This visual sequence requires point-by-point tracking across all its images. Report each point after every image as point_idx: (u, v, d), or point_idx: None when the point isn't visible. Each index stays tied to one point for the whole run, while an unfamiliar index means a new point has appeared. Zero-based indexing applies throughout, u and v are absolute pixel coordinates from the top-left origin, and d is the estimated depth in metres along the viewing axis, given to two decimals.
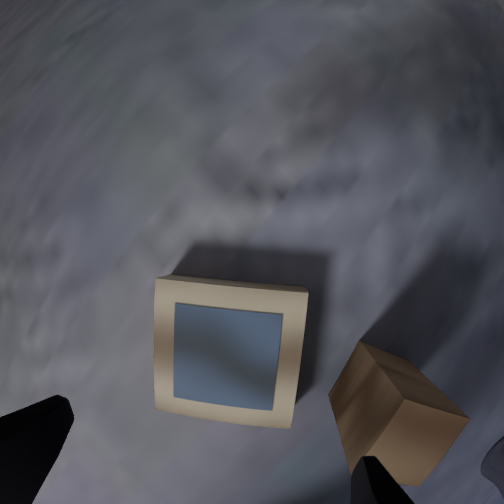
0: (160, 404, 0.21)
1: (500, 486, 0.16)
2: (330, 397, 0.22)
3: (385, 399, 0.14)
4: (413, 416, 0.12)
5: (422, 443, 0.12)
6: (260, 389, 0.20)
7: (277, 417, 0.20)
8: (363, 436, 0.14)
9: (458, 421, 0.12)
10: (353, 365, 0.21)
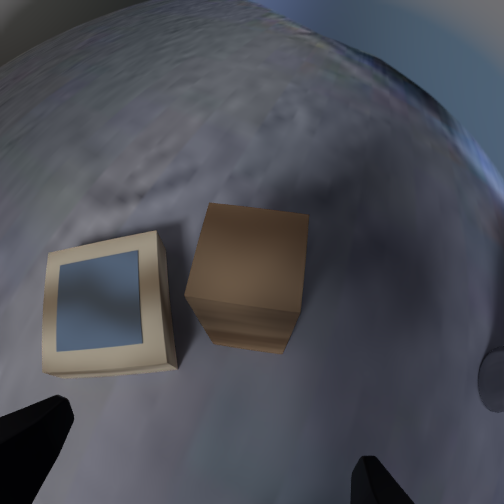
0: (46, 365, 0.18)
1: None
2: None
3: None
4: (228, 217, 0.15)
5: (259, 245, 0.15)
6: (128, 320, 0.20)
7: (150, 351, 0.19)
8: None
9: (294, 217, 0.15)
10: None
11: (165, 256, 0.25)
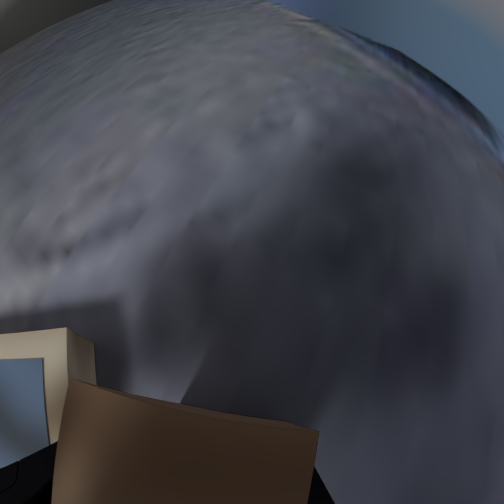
0: None
1: None
2: None
3: None
4: (109, 428, 0.05)
5: None
6: None
7: None
8: None
9: (277, 443, 0.05)
10: None
11: (92, 356, 0.15)
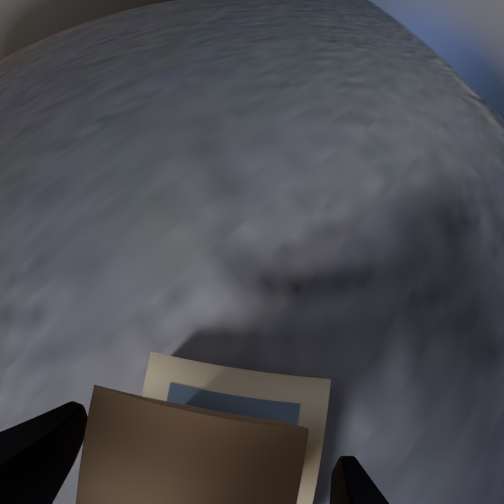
0: None
1: None
2: None
3: None
4: (130, 427, 0.06)
5: (194, 498, 0.05)
6: None
7: None
8: None
9: (274, 438, 0.06)
10: None
11: None
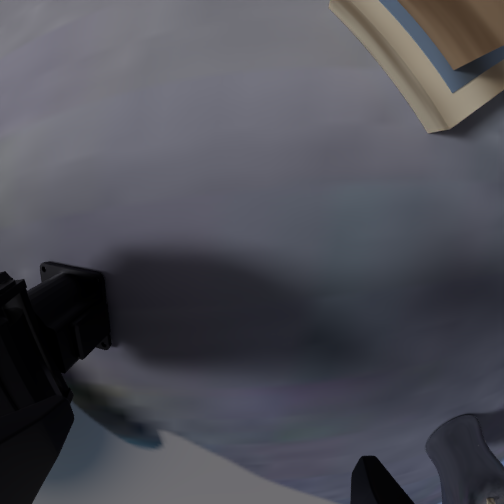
0: None
1: (454, 463, 0.17)
2: None
3: None
4: None
5: None
6: (461, 67, 0.12)
7: (450, 105, 0.13)
8: None
9: None
10: None
11: None
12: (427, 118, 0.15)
